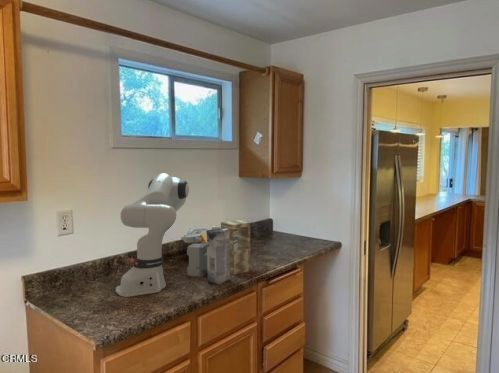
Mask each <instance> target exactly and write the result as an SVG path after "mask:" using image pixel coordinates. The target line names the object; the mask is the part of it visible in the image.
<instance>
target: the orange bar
mask: <svg viewBox="0 0 499 373" xmlns="http://www.w3.org/2000/svg"><path fill="white" fill-rule="evenodd" d="M200 238H203V241H201V242H200V244H207V233H204V234H200Z"/></svg>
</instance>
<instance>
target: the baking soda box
mask: <svg viewBox="0 0 499 373" xmlns="http://www.w3.org/2000/svg"><path fill="white" fill-rule="evenodd" d="M237 250H238V231H237V228H234V251H237Z"/></svg>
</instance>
